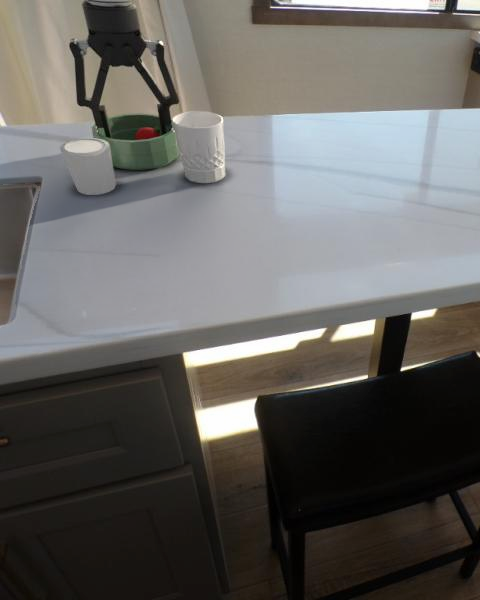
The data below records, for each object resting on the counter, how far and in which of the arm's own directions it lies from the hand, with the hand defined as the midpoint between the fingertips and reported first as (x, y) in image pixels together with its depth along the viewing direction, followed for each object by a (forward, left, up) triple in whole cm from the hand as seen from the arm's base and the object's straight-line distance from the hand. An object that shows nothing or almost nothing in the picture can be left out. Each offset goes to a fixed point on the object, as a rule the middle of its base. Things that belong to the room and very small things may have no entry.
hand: (139, 143), depth 94 cm
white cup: (+14, -1, -3) cm, 14 cm away
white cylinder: (+2, -13, -3) cm, 14 cm away
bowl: (0, 0, -2) cm, 2 cm away
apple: (0, 0, -1) cm, 1 cm away
